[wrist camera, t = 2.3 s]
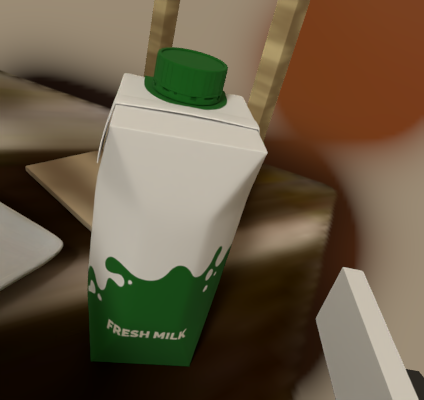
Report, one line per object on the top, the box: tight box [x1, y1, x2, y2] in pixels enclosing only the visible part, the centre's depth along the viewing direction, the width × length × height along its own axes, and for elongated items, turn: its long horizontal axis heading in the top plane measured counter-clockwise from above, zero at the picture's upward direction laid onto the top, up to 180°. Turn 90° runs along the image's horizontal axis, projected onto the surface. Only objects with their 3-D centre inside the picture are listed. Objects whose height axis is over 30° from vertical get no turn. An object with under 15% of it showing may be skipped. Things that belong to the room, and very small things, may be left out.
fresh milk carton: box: [88, 47, 268, 366], centre depth 26 cm, size 9×9×20 cm
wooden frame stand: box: [26, 0, 310, 232], centre depth 40 cm, size 18×18×26 cm
